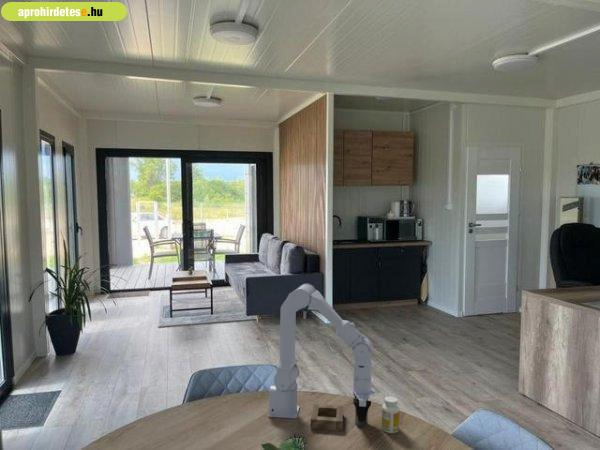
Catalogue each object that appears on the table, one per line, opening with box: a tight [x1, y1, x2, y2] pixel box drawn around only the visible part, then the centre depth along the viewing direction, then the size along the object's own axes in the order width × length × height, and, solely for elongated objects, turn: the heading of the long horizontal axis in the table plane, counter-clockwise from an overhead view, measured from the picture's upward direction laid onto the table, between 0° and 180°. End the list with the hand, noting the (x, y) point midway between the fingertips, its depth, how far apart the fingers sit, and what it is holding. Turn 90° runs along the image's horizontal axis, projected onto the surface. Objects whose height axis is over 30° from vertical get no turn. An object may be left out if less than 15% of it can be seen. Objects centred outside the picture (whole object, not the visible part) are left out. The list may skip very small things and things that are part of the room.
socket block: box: [310, 403, 344, 432], centre depth 139 cm, size 10×10×3 cm
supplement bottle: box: [381, 395, 401, 434], centre depth 134 cm, size 5×5×10 cm
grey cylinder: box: [354, 398, 369, 428], centre depth 137 cm, size 4×4×8 cm
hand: (361, 417), depth 137 cm, fingers closed on grey cylinder, 4 cm apart
